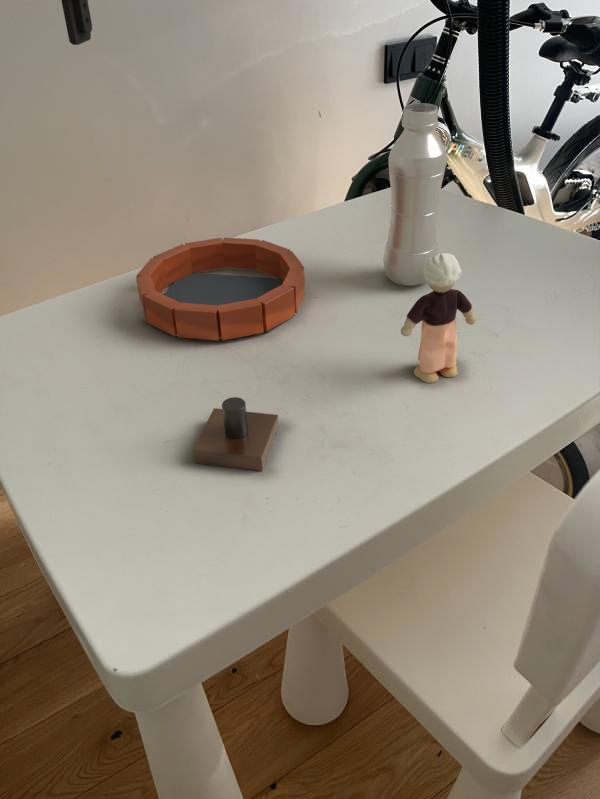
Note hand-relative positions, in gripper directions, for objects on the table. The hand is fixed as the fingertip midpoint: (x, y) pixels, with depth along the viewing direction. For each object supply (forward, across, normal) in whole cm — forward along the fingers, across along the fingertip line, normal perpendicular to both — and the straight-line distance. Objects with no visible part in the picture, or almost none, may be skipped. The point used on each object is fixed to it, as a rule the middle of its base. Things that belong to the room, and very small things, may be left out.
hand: (34, 41), depth 70 cm
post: (+28, -24, +22) cm, 43 cm away
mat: (+28, -15, -3) cm, 32 cm away
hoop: (+28, -15, -3) cm, 32 cm away
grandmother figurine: (+28, -40, +8) cm, 50 cm away
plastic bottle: (+28, -36, -12) cm, 47 cm away
